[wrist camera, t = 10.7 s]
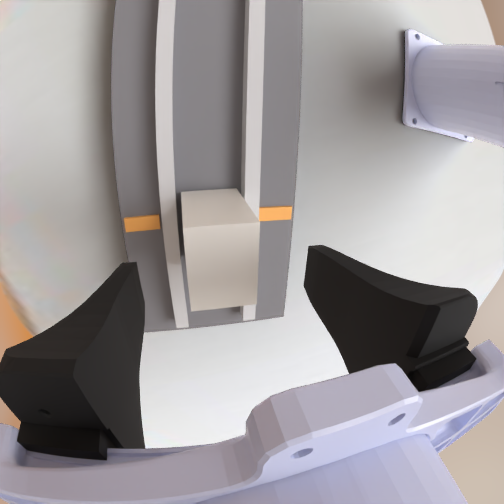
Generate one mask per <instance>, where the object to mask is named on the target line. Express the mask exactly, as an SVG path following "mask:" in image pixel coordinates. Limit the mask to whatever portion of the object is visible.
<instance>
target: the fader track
mask: <svg viewBox="0 0 504 504" xmlns="http://www.w3.org/2000/svg"><path fill="white" fill-rule="evenodd" d="M302 11H303V0H116V5H115V14H114V26H113V40H112V63H111V109H112V133H113V149H114V162H115V172H116V182H117V191H118V199H119V207H120V214H121V221H122V228H123V234H124V240H125V246H126V251H127V257H128V262H137V267H138V272H139V277H140V282H141V287H142V291H143V296H144V301H145V326H144V332H155V331H167V330H178V329H189V328H199V327H208V326H217V325H225V324H233V323H241V322H249V321H256V320H263V319H270V318H277V317H283V316H284V308H285V298H286V289H287V279H288V269H289V259H290V248H291V237H292V225H293V213H294V200H295V186H296V172H297V156H298V139H299V120H300V97H301V69H302ZM233 188H237V190H238V191H239V193H240V194H241V196H242V197H243V198H244V200H245V201H246V203H247V204H248V206H249V207H250V208H251V210H252V211H253V213H254V214H255V216H256V217H257V219H258V220H259V221H260V237H259V263H258V288H257V304H254V305H246V306H237V307H229V308H220V309H211V310H201V311H192V312H191V306H190V298H189V289H188V279H187V269H186V259H185V248H184V236H183V222H182V203H181V192H185V191H199V190H215V189H233Z"/></svg>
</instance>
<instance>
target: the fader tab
mask: <svg viewBox="0 0 504 504" xmlns="http://www.w3.org/2000/svg"><path fill="white" fill-rule="evenodd" d="M181 203H182V222H183V236H184V248H185V259H186V269H187V279H188V289H189V298H190V306H191V312H192V311H201V310H211V309H220V308H229V307H237V306H246V305H254V304H257V288H258V263H259V237H260V221H259V220H258V219H257V217H256V216H255V214H254V213H253V211H252V210H251V208H250V207H249V206H248V204H247V203H246V201H245V200H244V198H243V197H242V196H241V194H240V193H239V191H238V190H237V188H233V189H215V190H199V191H185V192H181Z"/></svg>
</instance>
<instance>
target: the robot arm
mask: <svg viewBox="0 0 504 504" xmlns="http://www.w3.org/2000/svg"><path fill="white" fill-rule="evenodd" d="M415 36H416V38H415ZM402 119H403V123H404V125H406V126H409V127H414V128H418V129H423V130H427V131H431V132H435V133H439V134H443V135H447V136H451V137H454V138H458V139H461V140H465V141H468V142H472V141H473V140H474V138H475V139H479V140H482V141H485V142H488V143H491V144H494V145H497V146H500V147H503V148H504V46H498V45H476V44H450V45H444V44H442V43H440V42H438V41H436V40H434V39H432V38H430V37H428V36H426V35H424V34H422V33H419V32H417V31H415V30H413V29H407V30H406V31H405V87H404V105H403V118H402ZM413 119H414V122H412V120H413ZM304 288H305V290H306V293H307V295H308V297H309V300H310V302H311V304H312V306H313V307H314V309H315V311H316V312H317V314H318V316H319V317H320V319H321V320H322V322H323V324H324V325H325V327H326V328H327V330H328V332H329V333H330V335H331V336H332V338H333V340H334V341H335V343H336V345H337V347H338V349H339V351H340V353H341V356H342V358H343V360H344V362H345V365H346V367H347V370H348V372H349V374H348V375H344V376H341V377H337V378H333V379H330V380H326V381H322V382H318V383H314V384H310V385H305V386H301V387H297V388H292V389H289V390H286V391H284V392H281V393H278V394H275V395H272V396H270V397H269V398H267V399H266V400H264V401H263V402H261V403H260V404H258V405H257V406H255V407H254V408H253V410H252V411H251V413H250V415H249V417H248V419H247V421H246V434H245V435H242V436H239V437H236V438H232V439H229V440H226V441H222V442H219V443H215V444H207V445H197V446H186V447H172V448H151V449H145V444H144V437H143V428H142V419H141V406H140V386H139V370H140V359H141V350H142V342H143V334H144V326H145V301H144V296H143V291H142V287H141V282H140V277H139V272H138V267H137V262H128V263H122V264H121V265H120V266H119V267H118V268H117V269H116V270H115V271H114V272H113V273H112V274H111V275H110V277H109V278H108V279H107V280H106V281H105V282H104V283H103V284H102V285H101V286H100V287H99V288H98V289H97V290H96V291H95V292H94V293H93V294H92V295H91V296H90V297H89V298H88V299H87V300H86V301H85V302H84V303H83V304H82V305H81V306H79V307H78V308H77V309H76V310H74V311H73V312H72V313H71V314H69V315H68V316H67V317H65V318H64V319H62V320H61V321H59V322H58V323H56V324H55V325H54V326H52V327H51V328H49V329H47V330H45V331H44V332H42V333H40V334H38V335H36V336H35V337H33V338H31V339H29V340H27V341H24V342H22V343H20V344H17V345H15V346H13V347H11V348H8V349H6V351H5V353H4V355H3V357H2V360H1V362H0V397H1V398H2V400H3V401H4V403H6V405H7V406H8V407H9V409H10V410H11V411H12V412H13V413H14V414H15V416H16V417H17V418H18V419H19V420H20V421H21V424H20V429H19V430H18V429H17V428H15V427H13V426H11V425H7V424H2V423H0V498H1V499H3V500H4V501H6V502H8V503H9V504H468V503H467V501H466V499H465V498H464V496H463V494H462V493H461V491H460V489H459V488H458V486H457V484H456V482H455V481H454V479H453V477H452V476H451V474H450V473H449V471H448V469H447V468H446V466H445V465H444V463H443V461H442V460H441V458H440V457H439V455H438V453H439V452H441V451H442V450H444V449H445V448H446V447H448V446H449V445H451V444H452V443H453V442H455V441H456V440H457V439H459V438H460V437H461V436H463V435H464V434H465V433H466V432H468V431H469V430H470V429H472V428H473V427H474V426H475V425H477V423H479V422H480V421H482V420H483V419H484V418H485V417H486V416H488V415H489V414H490V413H491V412H492V411H493V410H494V409H495V408H496V407H497V405H498V404H499V403H500V402H501V401H502V400H503V398H504V354H503V353H502V352H501V351H500V350H499V349H498V348H497V347H496V346H495V345H494V344H493V343H492V342H491V341H490V340H486V341H484V342H483V343H481V344H479V345H477V346H476V347H474V348H473V349H472V350H471V352H470V351H469V350H468V349H467V346H468V344H469V342H468V341H467V339H466V338H465V335H466V333H467V331H468V329H469V327H470V325H471V323H472V321H473V319H474V317H475V315H476V312H477V307H478V304H477V299H476V297H475V296H474V295H473V294H472V293H470V292H469V291H468V290H466V289H463V288H450V287H440V286H434V285H428V284H423V283H418V282H414V281H410V280H406V279H403V278H399V277H396V276H393V275H391V274H388V273H385V272H382V271H380V270H377V269H375V268H372V267H370V266H368V265H365V264H363V263H361V262H359V261H357V260H355V259H353V258H350V257H348V256H346V255H344V254H342V253H340V252H338V251H336V250H333V249H331V248H329V247H326V246H323V245H315V246H309V247H308V256H307V264H306V272H305V280H304Z"/></svg>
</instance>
